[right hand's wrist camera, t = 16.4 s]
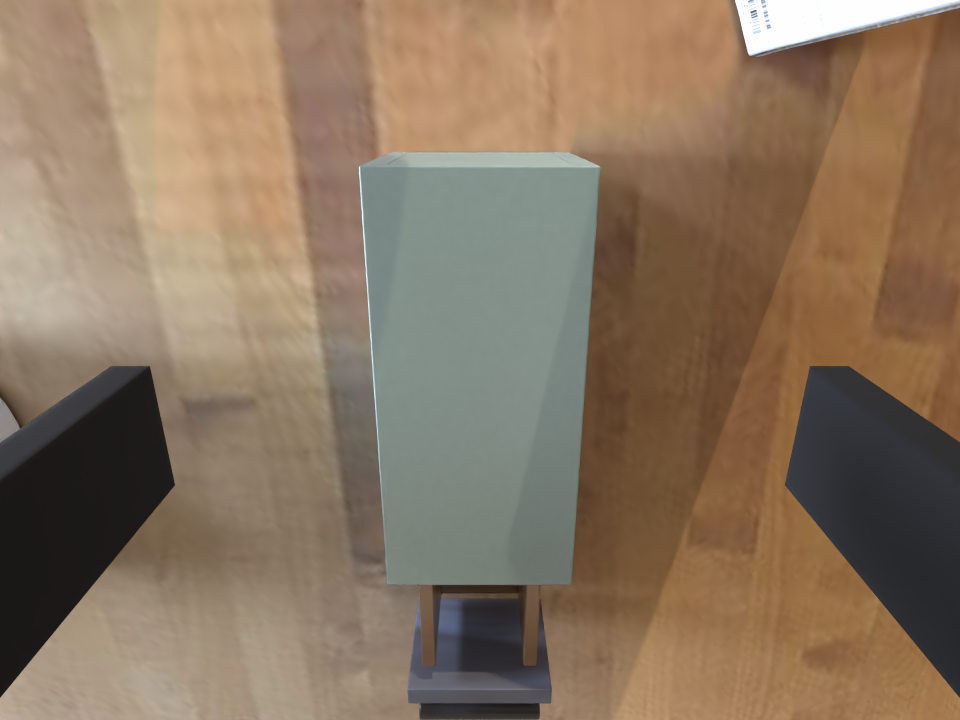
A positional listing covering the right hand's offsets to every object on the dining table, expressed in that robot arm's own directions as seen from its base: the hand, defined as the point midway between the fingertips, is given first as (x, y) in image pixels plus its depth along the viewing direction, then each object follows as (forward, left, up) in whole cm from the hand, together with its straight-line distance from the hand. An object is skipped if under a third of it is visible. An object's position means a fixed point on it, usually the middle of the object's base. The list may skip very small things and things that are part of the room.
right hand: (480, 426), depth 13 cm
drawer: (+5, -20, -25) cm, 32 cm away
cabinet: (+2, -7, -26) cm, 27 cm away
